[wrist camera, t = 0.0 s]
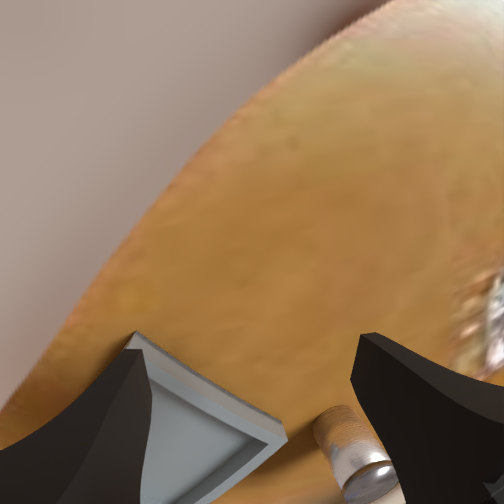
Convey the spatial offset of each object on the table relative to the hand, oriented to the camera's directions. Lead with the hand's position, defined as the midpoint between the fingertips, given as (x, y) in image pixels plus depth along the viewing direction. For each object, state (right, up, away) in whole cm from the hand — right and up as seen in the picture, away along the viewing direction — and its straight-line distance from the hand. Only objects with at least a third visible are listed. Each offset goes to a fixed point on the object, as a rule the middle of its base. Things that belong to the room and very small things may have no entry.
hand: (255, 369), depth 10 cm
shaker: (+7, -11, +13) cm, 18 cm away
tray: (-8, -12, +11) cm, 18 cm away
